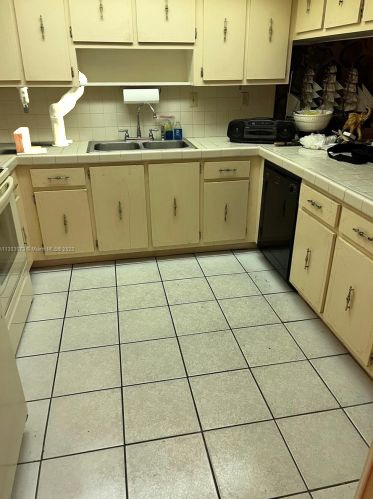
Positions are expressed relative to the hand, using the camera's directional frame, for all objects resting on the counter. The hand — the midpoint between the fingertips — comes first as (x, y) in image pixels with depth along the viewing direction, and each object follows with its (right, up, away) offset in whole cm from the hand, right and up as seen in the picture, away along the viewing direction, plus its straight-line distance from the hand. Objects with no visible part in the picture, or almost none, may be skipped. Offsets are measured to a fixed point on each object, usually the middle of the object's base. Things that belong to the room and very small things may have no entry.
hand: (26, 113), depth 277 cm
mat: (+7, -31, -7) cm, 33 cm away
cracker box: (-1, -18, +1) cm, 18 cm away
